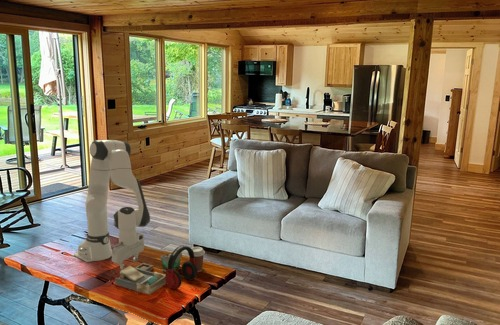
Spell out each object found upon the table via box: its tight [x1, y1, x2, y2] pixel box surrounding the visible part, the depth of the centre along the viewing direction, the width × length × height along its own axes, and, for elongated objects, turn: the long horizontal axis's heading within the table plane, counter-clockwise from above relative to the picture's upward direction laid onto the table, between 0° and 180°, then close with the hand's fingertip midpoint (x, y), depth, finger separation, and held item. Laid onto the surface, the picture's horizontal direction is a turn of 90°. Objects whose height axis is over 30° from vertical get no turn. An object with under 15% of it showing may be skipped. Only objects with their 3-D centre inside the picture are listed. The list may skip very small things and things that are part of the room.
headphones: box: [164, 245, 198, 290], centre depth 202 cm, size 18×10×20 cm, turn 147°
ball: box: [148, 277, 158, 286], centre depth 199 cm, size 5×5×5 cm
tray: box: [136, 271, 167, 296], centre depth 200 cm, size 8×14×4 cm, turn 154°
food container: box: [159, 251, 183, 274], centre depth 216 cm, size 12×6×10 cm, turn 123°
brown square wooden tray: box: [134, 262, 154, 272], centre depth 218 cm, size 7×7×2 cm
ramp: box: [119, 265, 144, 282], centre depth 205 cm, size 10×7×4 cm
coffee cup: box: [190, 246, 206, 273], centre depth 219 cm, size 9×9×12 cm
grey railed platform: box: [114, 267, 154, 292], centre depth 204 cm, size 14×14×3 cm
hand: (128, 264), depth 205 cm, fingers open, 8 cm apart
